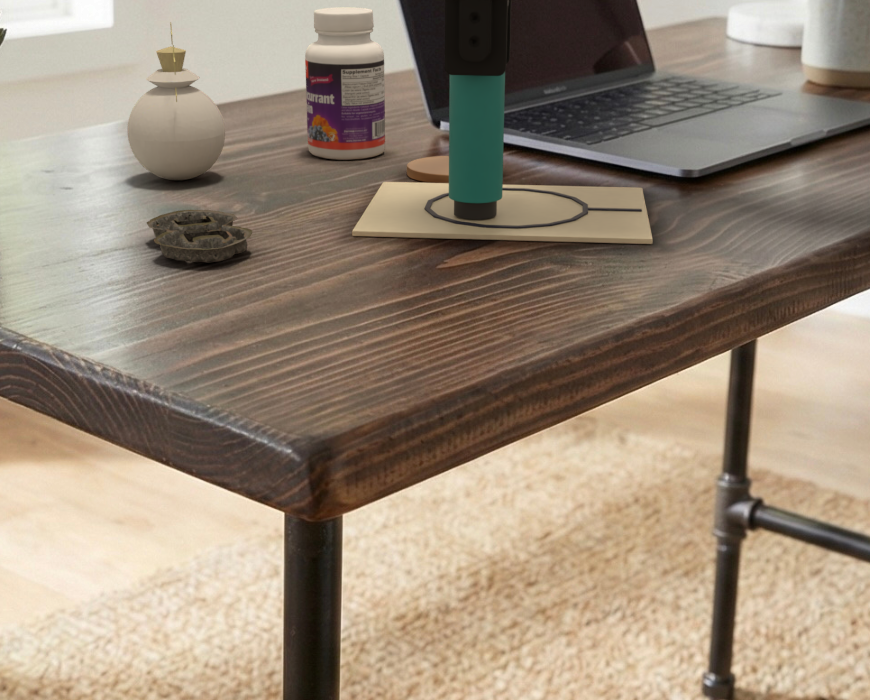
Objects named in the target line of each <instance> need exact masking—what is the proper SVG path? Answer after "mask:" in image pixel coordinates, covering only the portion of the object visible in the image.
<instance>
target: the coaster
mask: <svg viewBox="0 0 870 700" xmlns="http://www.w3.org/2000/svg"><path fill="white" fill-rule="evenodd" d="M406 175H407V177H408V178H410V179H412V180H415V181H418V182H422V183H449V155H436V156H427V157H420V158H416V159H413V160H411V161H409V162H408V163H407V164H406Z"/></svg>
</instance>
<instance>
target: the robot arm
mask: <svg viewBox="0 0 870 700" xmlns="http://www.w3.org/2000/svg"><path fill="white" fill-rule="evenodd" d="M511 25H512V0H509V5H508V0H444V70H445V72H446V74H448V75H449V76H450V75H472V76H501V75H503V74H504V72H505V73H506V70H507V65H508V63H509V61H510V59H511V31H512V30H511V27H512V26H511Z"/></svg>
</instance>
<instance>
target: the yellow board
mask: <svg viewBox="0 0 870 700" xmlns="http://www.w3.org/2000/svg"><path fill="white" fill-rule="evenodd" d="M648 215H649V213H648V209H647V206H646V200H645V195H644V190H643V187H632V186H631V187H628V186H627V187H626V186H624V187H623V186H590V185H589V186H588V185H587V186H586V185H585V186H584V185H580V186H579V185H546V184H545V185H540V184H539V185H538V184H537V185H536V184H503V189H502V199H500V200H498V201H497V214H496V216H495V217H493V218H489V219H482V220H470V219H463V218H459V217H456V216H455V215H454V200H452V199H450V198H449V183H429V182H413V181H409V182H408V181H407V182H406V181H383V182H382V183H381V184H380V187H379V188H378V190H377V191H376V193H375V194H374V195H373V198H372V199H371V201H370V202H369V204H368V205H367V207H366V209H365V210H364V211H363V213H362V215H361V216H360V218H359V220H358V221H357V223H356V224H355V226H354V227H353V229H352V231H351V235H352V237H378V238H408V239H411V238H412V239H444V240H445V239H449V240H450V239H452V240H485V241H519V242H521V241H522V242H557V243H559V242H560V243H590V244H591V243H593V244H595V243H597V244H630V245H631V244H632V245H653V241H654V240H653V233H652V229H651V223H650V220H649V216H648Z"/></svg>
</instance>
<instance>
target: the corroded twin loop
mask: <svg viewBox="0 0 870 700" xmlns="http://www.w3.org/2000/svg"><path fill="white" fill-rule="evenodd" d="M237 220H238V217H237V216H236V214H234V213H228V212H224V211H220V210H213V209H181V210H174V211H172V212H167V213H163V214H160V215H157V216H155V217H153V218H150V220H148V221H147V222H146V225H147V226H148V227H149V228H150V229H152V231H153V235H154V237H155V238H154V239H153V242H154V243H155V244H157V245H159V246H160V251H161V253H162V255H163V256H164V258H166V259H173V260H175V261H183V262H189V263H208V264H210V263H214V262H215V263H216V262H222V261H224V260H227V259H232V258H233V256H234V255H235V254H236V255H237V254H241V253H243V252H245V251H247V249H248V240H247V239H249V238H251V237H252V234H253V230H252V229H250V228H248V227H247V228H246V227H242V226H236V225H233V224H234V222H235V221H237Z"/></svg>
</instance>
